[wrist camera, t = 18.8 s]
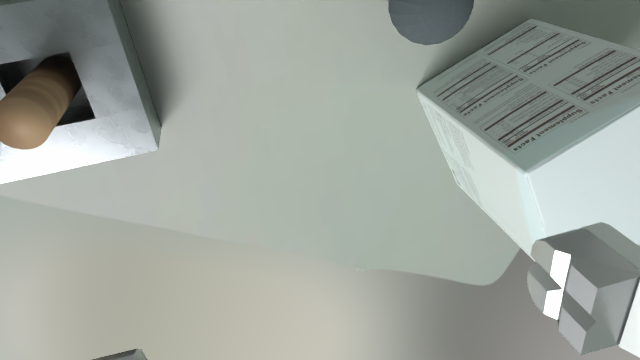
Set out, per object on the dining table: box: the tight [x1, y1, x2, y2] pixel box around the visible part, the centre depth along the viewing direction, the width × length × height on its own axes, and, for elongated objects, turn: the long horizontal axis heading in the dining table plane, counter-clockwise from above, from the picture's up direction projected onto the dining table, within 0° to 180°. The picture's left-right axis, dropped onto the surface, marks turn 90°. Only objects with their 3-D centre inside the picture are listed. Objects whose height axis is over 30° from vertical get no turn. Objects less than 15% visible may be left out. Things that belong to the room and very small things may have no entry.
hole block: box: [0, 0, 161, 184], centre depth 35 cm, size 12×12×4 cm
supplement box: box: [417, 18, 640, 262], centre depth 40 cm, size 13×13×18 cm
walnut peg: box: [0, 56, 82, 150], centre depth 32 cm, size 3×3×10 cm
